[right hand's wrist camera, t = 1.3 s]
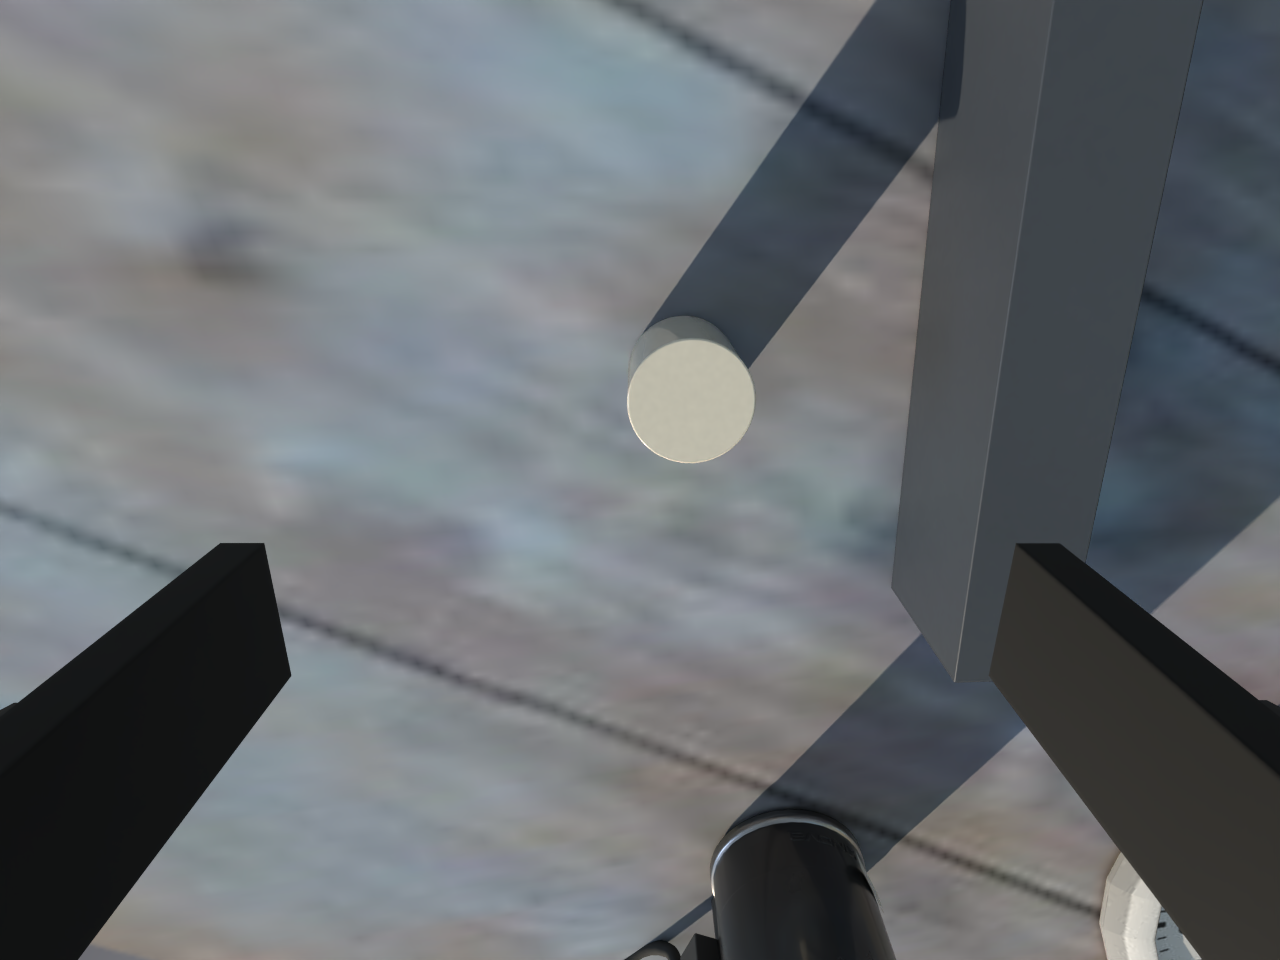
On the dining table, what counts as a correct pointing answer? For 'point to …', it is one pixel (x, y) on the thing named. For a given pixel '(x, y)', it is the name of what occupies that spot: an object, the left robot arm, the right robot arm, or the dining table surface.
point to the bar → (1029, 291)
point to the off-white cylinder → (688, 390)
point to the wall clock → (1138, 921)
